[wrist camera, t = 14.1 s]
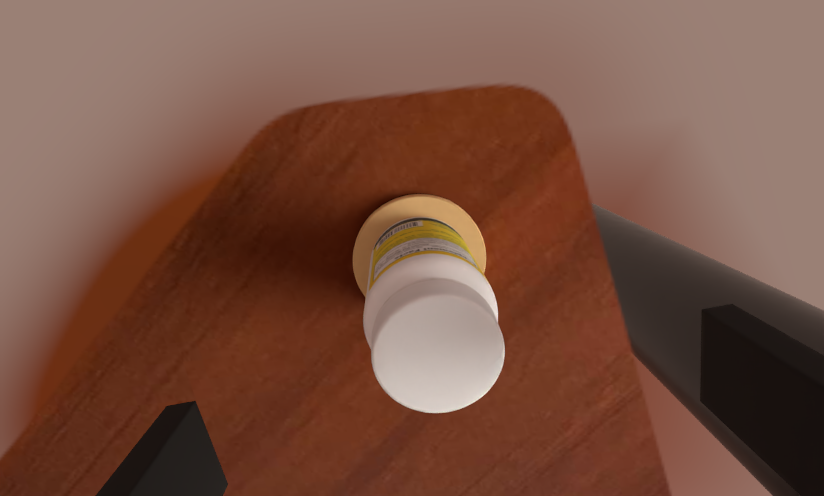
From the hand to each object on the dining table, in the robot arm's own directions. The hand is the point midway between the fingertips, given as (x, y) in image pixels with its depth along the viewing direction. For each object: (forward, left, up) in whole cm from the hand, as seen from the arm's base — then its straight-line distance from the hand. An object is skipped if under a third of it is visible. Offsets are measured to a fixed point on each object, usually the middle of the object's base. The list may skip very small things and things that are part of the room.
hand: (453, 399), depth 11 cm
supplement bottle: (0, 0, -10) cm, 10 cm away
